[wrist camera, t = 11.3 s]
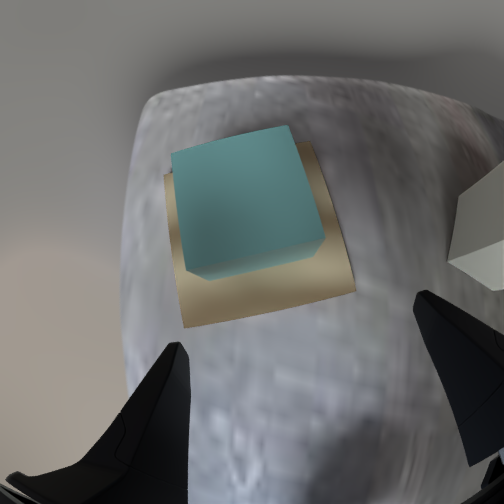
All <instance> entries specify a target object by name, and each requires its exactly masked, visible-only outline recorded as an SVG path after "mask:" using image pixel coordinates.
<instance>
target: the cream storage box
mask: <svg viewBox="0 0 504 504" xmlns="http://www.w3.org/2000/svg"><path fill="white" fill-rule="evenodd" d="M447 262H448V263H450V264H452V265H453V266H455V267H456V268H458V269H460V270H461V271H463V272H464V273H466V274H468V275H469V276H471V277H472V278H474V279H475V280H477V281H479V282H480V283H482V284H483V285H485V286H486V287H488V288H489V289H491V290H492V291H497V290H502V289H504V161H503V162H502V163H500V164H499V165H498V166H497V167H495V168H494V169H493V170H492V171H491V172H489V173H488V174H487V175H485V176H484V177H483V178H482V179H480V180H479V181H478V182H477V183H475V184H474V185H473V186H471V187H470V188H469V189H467V190H466V191H465V192H463V193H462V194H461V195H459V196H458V204H457V211H456V218H455V224H454V230H453V235H452V240H451V245H450V250H449V255H448V259H447Z"/></svg>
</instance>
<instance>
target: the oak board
mask: <svg viewBox="0 0 504 504" xmlns="http://www.w3.org/2000/svg"><path fill="white" fill-rule="evenodd" d="M295 145H296V148H297V151H298V153H299V156H300V159H301V162H302V165H303V167H304V170H305V173H306V176H307V179H308V182H309V185H310V188H311V191H312V194H313V197H314V200H315V203H316V207H317V210H318V213H319V216H320V220H321V223H322V226H323V230H324V233H325V236H326V238H325V240H324V241H323V243H322V244H321V246H320V247H319V249H318V250H317V252H316V253H315V255H314V256H313V257H311V258H307V259H303V260H299V261H295V262H290V263H286V264H282V265H278V266H273V267H269V268H265V269H261V270H256V271H252V272H248V273H243V274H239V275H234V276H230V277H226V278H221V279H217V280H212V281H208V280H206V279H203V278H201V277H199V276H197V275H195V274H192V273H190V272H188V271H186V268H185V262H184V256H183V250H182V243H181V236H180V229H179V222H178V215H177V207H176V199H175V190H174V181H173V172H172V173H168V174H165V175H164V185H165V197H166V208H167V217H168V227H169V235H170V243H171V251H172V258H173V266H174V272H175V279H176V285H177V291H178V297H179V303H180V309H181V314H182V320H183V325H184V328H190V327H196V326H202V325H208V324H213V323H219V322H224V321H230V320H235V319H240V318H245V317H250V316H255V315H260V314H264V313H269V312H274V311H278V310H283V309H287V308H291V307H296V306H300V305H304V304H308V303H312V302H317V301H321V300H324V299H328V298H332V297H336V296H340V295H344V294H347V293H351V292H355V291H356V287H355V283H354V279H353V275H352V271H351V267H350V263H349V259H348V255H347V252H346V248H345V244H344V241H343V237H342V234H341V230H340V227H339V224H338V220H337V217H336V214H335V211H334V207H333V204H332V201H331V198H330V195H329V192H328V189H327V186H326V183H325V180H324V177H323V175H322V172H321V169H320V166H319V163H318V161H317V158H316V155H315V153H314V150H313V147H312V145H311V142H310V141H307V142H301V143H295Z"/></svg>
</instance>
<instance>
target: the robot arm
mask: <svg viewBox="0 0 504 504" xmlns="http://www.w3.org/2000/svg"><path fill="white" fill-rule="evenodd" d="M413 313H414V315H415V318H416V321H417V323H418V326H419V329H420V332H421V334H422V337H423V340H424V343H425V345H426V348H427V350H428V352H429V354H430V356H431V359H432V361H433V363H434V366H435V368H436V370H437V373H438V375H439V377H440V380H441V382H442V385H443V387H444V390H445V392H446V395H447V397H448V400H449V403H450V406H451V408H452V411H453V414H454V417H455V420H456V423H457V426H458V429H459V433H460V436H461V439H462V442H463V446H464V449H465V453H466V457H467V461H468V464H469V467H471V466H473V465H475V464H477V463H479V462H480V461H482V460H484V459H486V458H487V457H489V456H491V455H492V454H494V453H496V452H497V451H498V453H499V455H498V456H497V457H496V458H494V459H493V460H492V461H490V464H489V466H488V469H487V472H486V474H485V477H484V479H483V482H482V484H481V489H482V490H481V491H479V492H478V493H476V494H475V495H473V496H472V497H470V498H469V499H467V500H466V501H464V502H463V503H461V504H504V335H503V334H501V333H499V332H498V331H496V330H493V328H491V327H490V326H488V325H486V324H485V323H483V322H481V321H480V320H478V319H477V318H475V317H473V316H472V315H470V314H468V313H467V312H465V311H463V310H461V309H460V308H458V307H456V306H455V305H453V304H451V303H449V302H448V301H446V300H444V299H442V298H441V297H439V296H437V295H435V294H434V293H432V292H430V291H428V290H423V291H420V292H418V293H417V294H416V298H415V302H414V305H413ZM190 404H191V387H190V367H189V356H188V354H187V352H186V351H185V349H184V347H183V346H182V344H181V343H180V342H171V343H169V344H168V345H167V346H166V348H165V349H164V351H163V352H162V353H161V355H160V356H159V357H158V359H157V360H156V362H155V363H154V364H153V366H152V367H151V369H150V370H149V371H148V373H147V374H146V376H145V377H144V378H143V380H142V381H141V383H140V384H139V386H138V387H137V388H136V390H135V391H134V393H133V394H132V395H131V397H130V398H129V400H128V401H127V403H126V404H125V405H124V407H123V408H122V410H121V413H119V414H118V415H117V417H116V418H115V420H114V421H113V422H112V424H111V425H110V426H109V428H108V429H107V430H106V431H105V433H104V434H103V435H102V436H101V437H100V439H99V440H98V441H97V442H96V443H95V444H94V446H93V447H92V448H91V449H90V450H89V451H88V452H87V454H86V455H85V456H84V457H83V458H82V459H81V460H80V461H78V462H77V463H75V464H73V465H71V466H68V467H65V468H62V469H59V470H56V471H52V472H49V473H45V474H42V475H38V476H27V475H25V474H23V473H21V472H18V471H17V472H14V473H12V474H10V475H9V476H8V477H7V478H6V479H5V480H6V481H7V482H8V483H9V484H11V485H12V486H13V487H15V488H17V489H18V490H19V491H21V492H22V493H24V494H26V495H27V496H29V497H30V498H29V497H27V496H25V495H23V494H20V493H18V492H16V491H14V490H12V489H10V488H8V487H6V486H4V485H2V484H0V504H188V490H187V489H188V447H189V423H190Z"/></svg>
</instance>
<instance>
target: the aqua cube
mask: <svg viewBox="0 0 504 504" xmlns="http://www.w3.org/2000/svg"><path fill="white" fill-rule="evenodd" d="M171 160H172V171H173V181H174V190H175V199H176V207H177V215H178V222H179V229H180V236H181V243H182V250H183V256H184V262H185V268H186V271H188V272H190V273H192V274H195V275H197V276H199V277H201V278H203V279H206V280H208V281H212V280H217V279H221V278H226V277H230V276H234V275H239V274H243V273H248V272H252V271H256V270H261V269H265V268H269V267H273V266H278V265H282V264H286V263H290V262H295V261H299V260H303V259H307V258H311V257H313V256H314V255H315V253H316V252H317V250H318V249H319V247H320V246H321V244H322V243H323V241H324V240H325V238H326V236H325V233H324V230H323V226H322V223H321V220H320V216H319V213H318V210H317V207H316V203H315V200H314V197H313V194H312V191H311V188H310V185H309V182H308V179H307V176H306V173H305V170H304V167H303V165H302V162H301V159H300V156H299V153H298V151H297V148H296V145H295V142H294V140H293V137H292V134H291V132H290V129H289V127H288V125H284V126H279V127H273V128H268V129H263V130H258V131H254V132H249V133H245V134H240V135H236V136H232V137H228V138H224V139H220V140H216V141H212V142H208V143H205V144H201V145H198V146H194V147H191V148H187V149H184V150H181V151H177V152H174V153H171Z"/></svg>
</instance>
